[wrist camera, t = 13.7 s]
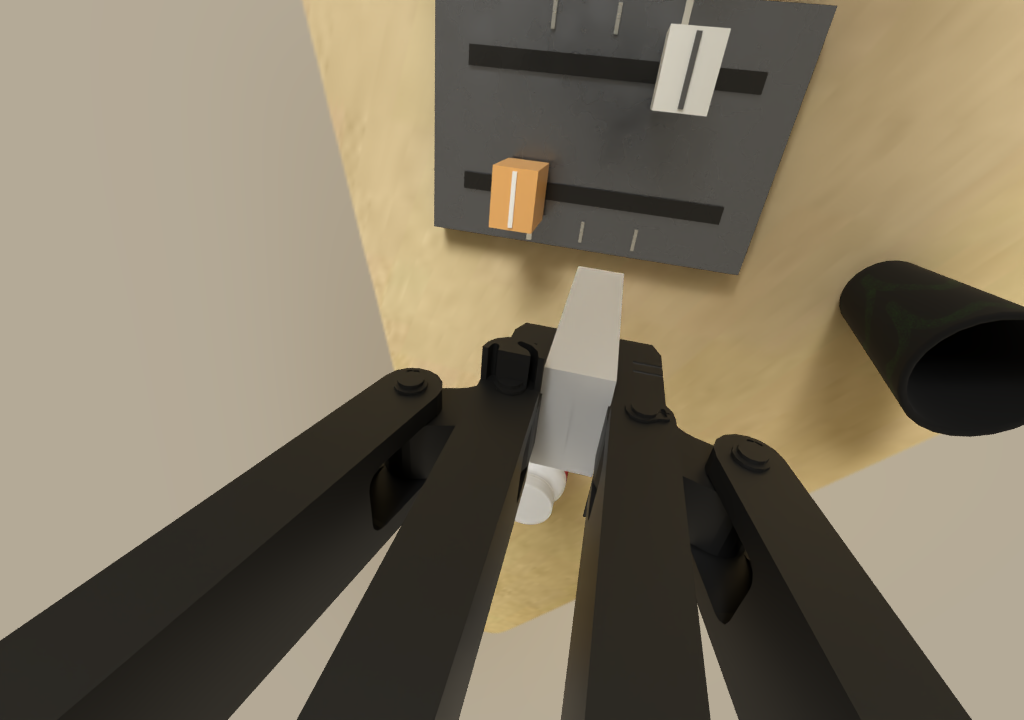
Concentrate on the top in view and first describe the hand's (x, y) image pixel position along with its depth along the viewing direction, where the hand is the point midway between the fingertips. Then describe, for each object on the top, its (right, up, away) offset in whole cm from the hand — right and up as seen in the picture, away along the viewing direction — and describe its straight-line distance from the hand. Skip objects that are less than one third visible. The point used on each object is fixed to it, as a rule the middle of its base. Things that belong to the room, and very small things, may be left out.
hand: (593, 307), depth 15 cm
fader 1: (-2, +11, +18) cm, 21 cm away
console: (+4, +15, +18) cm, 23 cm away
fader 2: (+8, +16, +13) cm, 22 cm away
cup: (+25, +3, +19) cm, 32 cm away
